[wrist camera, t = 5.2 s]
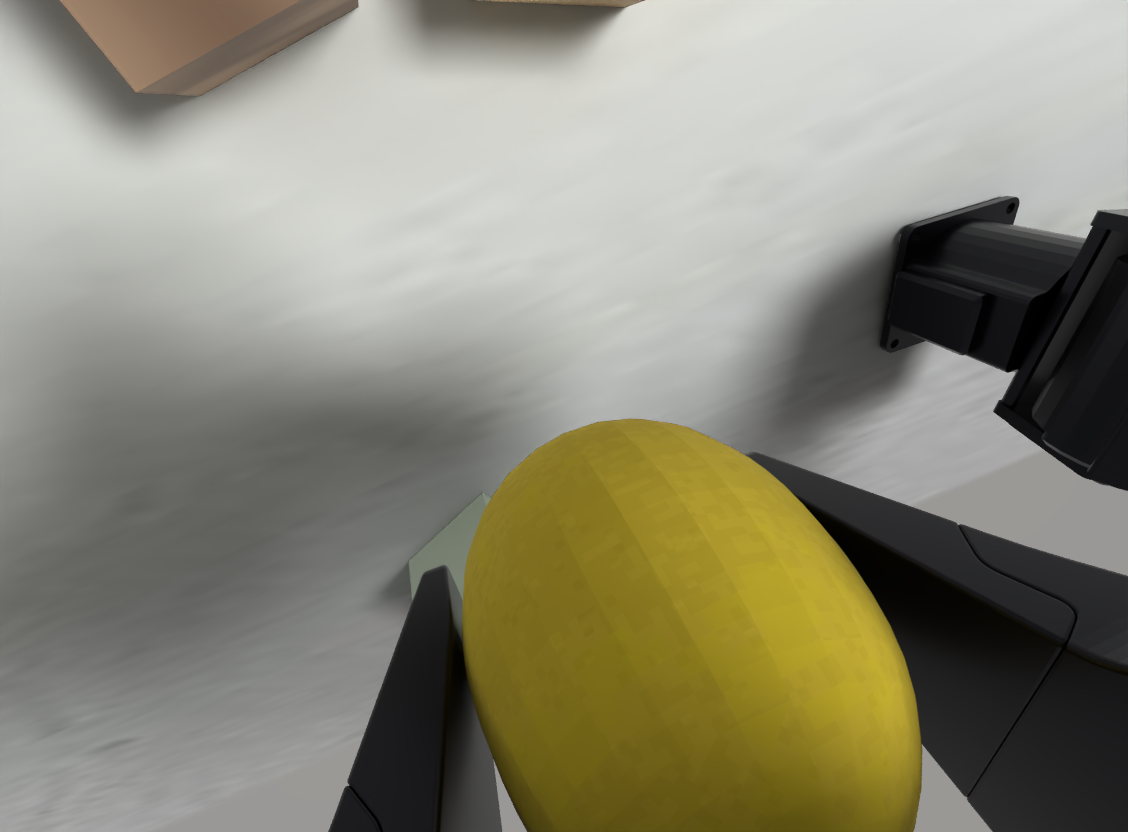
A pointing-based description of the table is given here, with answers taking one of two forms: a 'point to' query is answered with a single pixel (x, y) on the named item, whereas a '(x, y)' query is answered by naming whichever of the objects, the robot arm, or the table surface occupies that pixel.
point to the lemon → (680, 647)
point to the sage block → (450, 546)
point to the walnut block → (197, 37)
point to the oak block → (579, 2)
